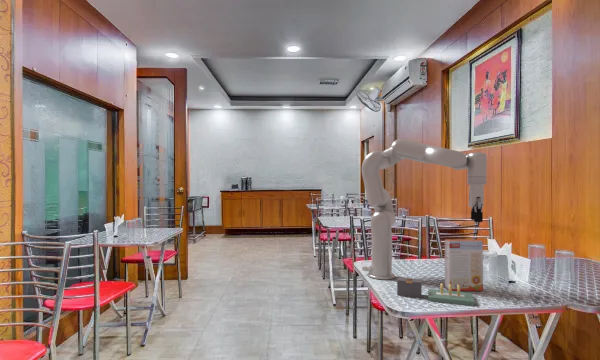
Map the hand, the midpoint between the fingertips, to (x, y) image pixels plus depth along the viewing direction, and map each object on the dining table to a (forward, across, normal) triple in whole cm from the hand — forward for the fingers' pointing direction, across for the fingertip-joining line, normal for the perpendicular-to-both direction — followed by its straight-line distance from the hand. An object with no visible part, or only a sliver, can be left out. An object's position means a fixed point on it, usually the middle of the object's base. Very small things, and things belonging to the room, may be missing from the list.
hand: (476, 220), depth 157 cm
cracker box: (+29, +5, -6) cm, 30 cm away
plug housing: (+29, +22, -27) cm, 45 cm away
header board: (+29, +22, -12) cm, 38 cm away
